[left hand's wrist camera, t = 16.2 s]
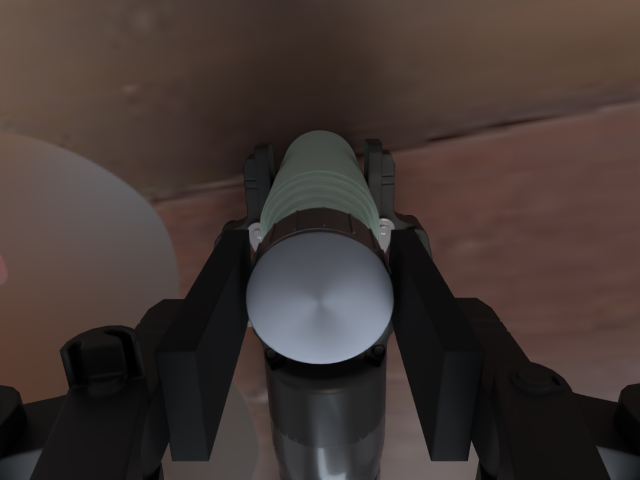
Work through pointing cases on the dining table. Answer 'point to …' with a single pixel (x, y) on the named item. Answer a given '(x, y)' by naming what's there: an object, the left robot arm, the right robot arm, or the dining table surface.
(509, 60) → the dining table surface
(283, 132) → the dining table surface
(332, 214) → the cap
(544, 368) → the left robot arm
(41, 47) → the dining table surface
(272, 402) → the right robot arm
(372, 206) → the bottle
